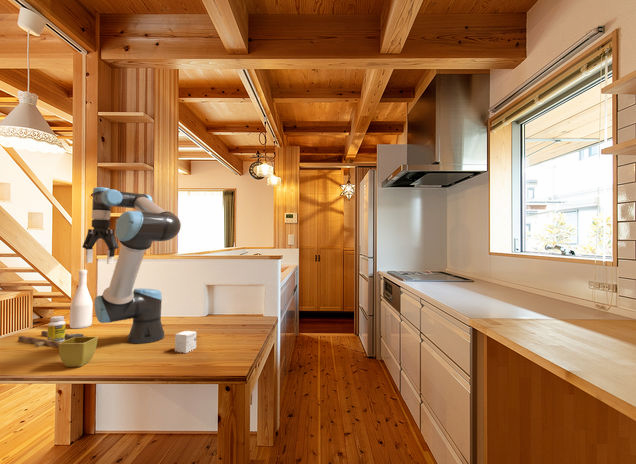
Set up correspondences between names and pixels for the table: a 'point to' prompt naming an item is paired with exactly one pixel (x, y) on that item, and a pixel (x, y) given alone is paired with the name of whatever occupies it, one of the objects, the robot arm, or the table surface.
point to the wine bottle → (81, 304)
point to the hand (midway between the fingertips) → (99, 263)
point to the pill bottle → (56, 329)
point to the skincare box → (185, 341)
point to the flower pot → (77, 350)
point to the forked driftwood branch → (43, 342)
